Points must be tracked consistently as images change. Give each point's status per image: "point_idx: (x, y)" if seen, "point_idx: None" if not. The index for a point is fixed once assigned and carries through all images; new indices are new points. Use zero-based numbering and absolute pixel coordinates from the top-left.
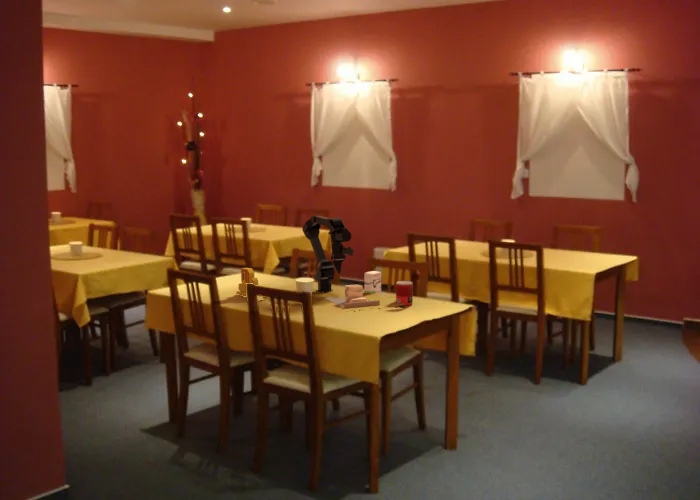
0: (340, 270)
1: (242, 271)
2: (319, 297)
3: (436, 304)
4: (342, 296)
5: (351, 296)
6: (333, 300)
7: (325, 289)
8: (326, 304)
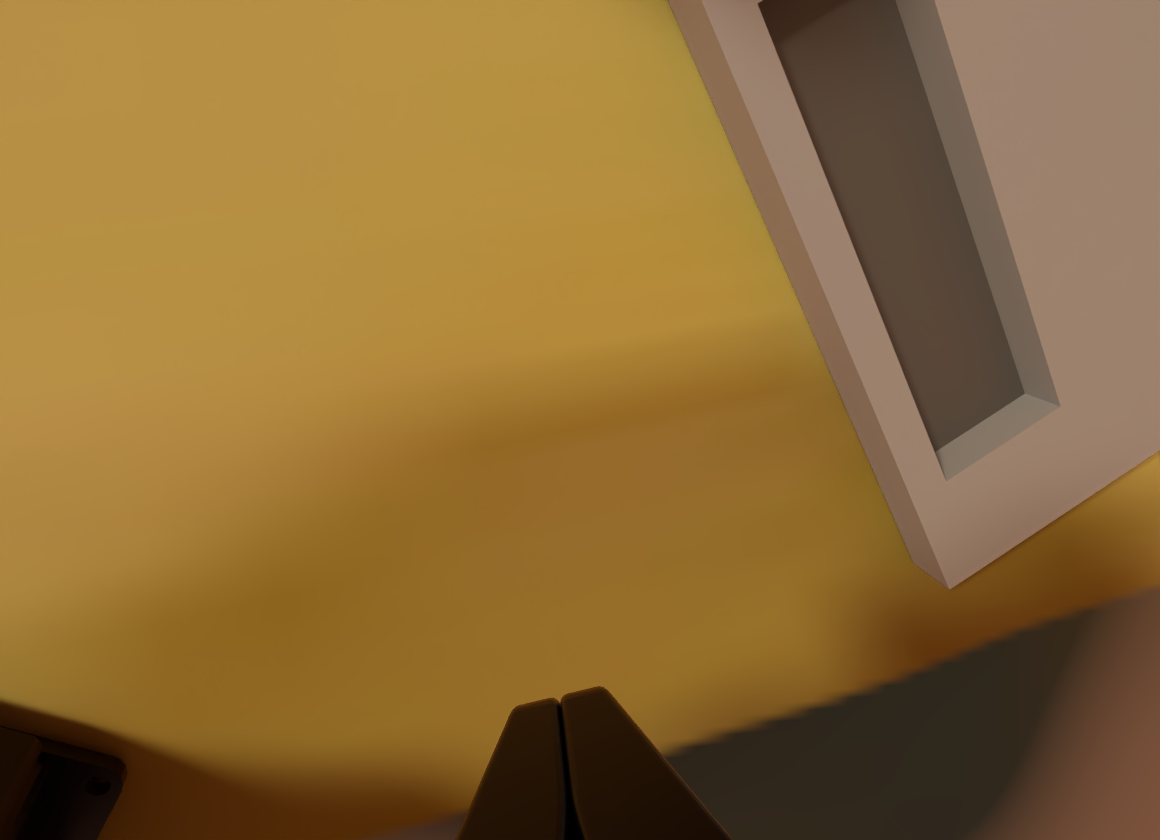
0: (688, 793)
1: None
2: None
3: None
4: (827, 273)
5: None
6: (1155, 389)
7: (29, 825)
8: (1148, 472)
